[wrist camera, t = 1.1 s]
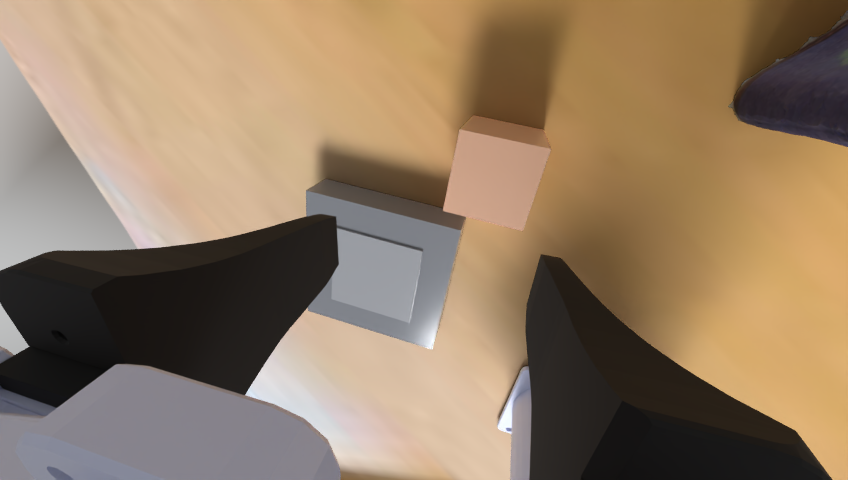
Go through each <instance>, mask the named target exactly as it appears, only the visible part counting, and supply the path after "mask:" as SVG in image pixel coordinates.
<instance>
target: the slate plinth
mask: <svg viewBox="0 0 848 480" xmlns="http://www.w3.org/2000/svg"><path fill="white" fill-rule="evenodd" d="M306 214H307V216H311V215H316V214H325V215H330V216H336V220H337V239H338V257H339V265H338V267H337V268H336V270H335V272H334V274H333V275H332V277H331V278H330V280H329V282H328V283H327V285H326V286H325V287H324V288H323V290H322V291H321V292H320V293H319V294H318V296H317V297H316V298H315V299H314V300H313V302H312V303H311V304H310V305H309V306H308V311H311V312H314V313H317V314H320V315H324V316H327V317H330V318H333V319H336V320H339V321H343V322H346V323H349V324H352V325H355V326H359V327H362V328H365V329H368V330H371V331H374V332H378V333H381V334H384V335H387V336H390V337H394V338H397V339H400V340H403V341H406V342H409V343H413V344H416V345H419V346H422V347H425V348H429V349H433V345H434V342H435V339H436V336H437V333H438V329H439V326H440V322H441V318H442V314H443V310H444V306H445V301H446V297H447V293H448V289H449V285H450V281H451V277H452V273H453V269H454V265H455V261H456V257H457V253H458V248H459V244H460V240H461V236H462V232H463V228H464V224H465V220H466V217H465V216H461V215H457V214H453V213H449V212H445V211H443V208H440V207H436V206H432V205H428V204H424V203H420V202H416V201H412V200H408V199H404V198H400V197H396V196H392V195H388V194H384V193H380V192H376V191H372V190H368V189H364V188H360V187H356V186H352V185H348V184H344V183H340V182H336V181H332V180H329V179H325V180H323V181H321V182H320V183H318V184H316V185H315V186H313V187H311V188H309V189H308V190H306Z"/></svg>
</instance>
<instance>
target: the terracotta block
mask: <svg viewBox="0 0 848 480" xmlns="http://www.w3.org/2000/svg"><path fill="white" fill-rule="evenodd" d="M550 151H551V147H550V144H549V142H548V139H547V136H546V134H545V131H544V130H542V129H538V128H533V127H528V126H523V125H518V124H514V123H509V122H504V121H499V120H495V119H490V118H485V117H480V116H475V115H473V116H472V117H471V118H470V119H469V120H468V121H467V122H466V123H465V124H464V125H463V126H462V127H461V128H460V130H459V135H458V139H457V144H456V149H455V154H454V159H453V164H452V169H451V173H450V178H449V183H448V188H447V193H446V198H445V203H444V207H443V211H445V212H449V213H453V214H457V215H461V216H465V217H468V218H472V219H476V220H480V221H484V222H488V223H492V224H496V225H500V226H504V227H508V228H512V229H516V230H520V231H523V229H524V226H525V223H526V221H527V218H528V215H529V212H530V209H531V206H532V203H533V200H534V197H535V195H536V192H537V189H538V186H539V183H540V180H541V177H542V174H543V171H544V169H545V166H546V163H547V160H548V157H549V154H550Z"/></svg>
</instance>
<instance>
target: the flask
mask: <svg viewBox="0 0 848 480" xmlns="http://www.w3.org/2000/svg"><path fill="white" fill-rule="evenodd" d="M831 29H832V30H830V31H828V32H827V33H825V34H823V35H821V36H820V37H809V39H808V41H807V42H806V43H804V45H803V46H802V47H801V48H800V49H799V50H798V51H797V52H795V53H794V54H792V55H791V56H788V57H785V58H782V59H780V60H779V59H776V62H775V63H773V64H772V65H770V66H768V67H767V68H765V69H762V70H761V71H760V72H758V73H757V74H755V75H754V76H752V77H750V78H748V79H747V80H745V81H744V82H743V83H742V85H741V86H740V88H739V89H738V91H737V95H735V97H734V101H733V102H732V103H731V104H730V105H729V106H728V107H731V108H733V110H734V112H735V115H736V116H737V118H738V120H739V121H742V122H745V123H747V124H749V125H754V126H757V127H761V128H764V129H770V130H775V131H781V132H785V133H789V134H794V135H801V136H807V137H811V138H815V139H820V140H824V141H827V142H831V143H835V144H839V145H843V146H846V147H848V10H847V11H846V13H845V14H844V15H843V17H841V20H839V21H838V22H836V24H835V25H834V26H833V27H832V28H831Z"/></svg>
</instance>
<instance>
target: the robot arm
mask: <svg viewBox="0 0 848 480" xmlns="http://www.w3.org/2000/svg"><path fill="white" fill-rule="evenodd" d="M338 265H339V257H338V239H337V220H336V216H330V215H325V214H316V215H311V216H307V217H303V218H299V219H296V220H292V221H289V222H285V223H282V224H278V225H275V226H272V227H268V228H264V229H260V230H257V231H253V232H249V233H245V234H241V235H237V236H233V237H228V238H223V239H218V240H213V241H207V242H201V243H194V244H186V245H178V246H170V247H161V248H148V249H135V250H112V251H111V250H110V251H52V252H47V253H44V254H41V255H39V256H36V257H33V258H31V259H28V260H26V261H24V262H21V263H18V264H16V265H14V266H11V267H8V268H6V269H4V270H1V271H0V303H1V304H2V306H3V308H4V310H5V311H6V313H7V314H8V315H9V317H10V319H11V320H12V321H13V323H14V324H15V326H16V328H17V329H18V331H19V332H20V333H21V335H22V336H23V338H24V339H25V341H26V342H27V344H28V345H29V346H30V347H28V348H26V349H25V350H23V351H21V352H19V353H18V354H16V355H13V354H12V353H11V352H9V351H8V350H7V349H5V348H2V347H0V480H341V477H340V468H339V465H338V462H337V459H336V457H335V455H334V453H333V450H332V448H331V446H330V444H329V442H328V440H327V439H326V438H325V437H324V436H323V435H322V434H321V433H320V432H319V431H317V430H316V429H315V428H314V427H313V426H312V425H311V424H310V423H309V422H308V421H306V420H305V419H304V418H302V417H300V416H298V415H296V414H293V413H291V412H289V411H287V410H285V409H283V408H281V407H279V406H277V405H274V404H271V403H268V402H265V401H261V400H258V399H255V398H252V397H248V396H245V394H246V393H247V391H248V389H249V387H250V386H251V384H252V383H253V381H254V380H255V378H256V376H257V375H258V373H259V372H260V370H261V368H262V367H263V365H264V364H265V362H266V361H267V359H268V358H269V356H270V355H271V353H272V352H273V350H274V349H275V347H276V346H277V344H278V343H279V342H280V340H281V339H282V337H283V336H284V335H285V334H286V332H287V331H288V330H289V328H290V327H291V326H292V325H293V324H294V323H295V321H296V320H297V319H298V318H299V317H300V316H301V314H302V313H303V312H304V311H305V310H306V309H307V307H308V306H309V305H310V304H311V303H312V302H313V300H314V299H315V298H316V297H317V296H318V294H319V293H320V292H321V291H322V290H323V288H324V287H325V286H326V285H327V283H328V282H329V280H330V278H331V277H332V275H333V274H334V272H335V270H336V268H337V267H338ZM526 342H527V354H528V365H529V367H528V366H526V367H523V368H522V369H521V371H520V373H519V376H518V378H517V380H516V382H515V385H514V387H513V389H512V391H511V394H510V396H509V398H508V400H507V403H506V405H505V407H504V409H503V411H502V414H501V416H500V418H499V420H498V425H497V427H498V428H499V429H500V430H501V431H504V432H507V433H510V434H511V468H510V480H832V479H831V477H830V476H829V475H828V473H827V472H826V471H825V469H824V468H823V467H822V465H821V464H820V463H819V461H818V460H817V459H816V457H815V456H814V455H813V453H812V452H811V451H810V449H809V448H808V447H807V445H806V444H805V443H804V441H803V440H802V439H801V437H800V436H799V435H798V433H797V432H796V431H795V430H793V429H791V428H789V427H787V426H785V425H783V424H782V423H780V422H778V421H776V420H774V419H772V418H770V417H768V416H766V415H765V414H763V413H761V412H759V411H757V410H755V409H753V408H751V407H749V406H747V405H746V404H744V403H742V402H740V401H738V400H736V399H734V398H732V397H731V396H729V395H727V394H725V393H724V392H722V391H720V390H719V389H717V388H715V387H714V386H712V385H710V384H709V383H707V382H705V381H704V380H702V379H700V378H699V377H697V376H695V375H694V374H692V373H691V372H689V371H688V370H686V369H684V368H683V367H681V366H680V365H678V364H677V363H675V362H674V361H672V360H671V359H670V358H668V357H667V356H665V355H664V354H662V353H661V352H660V351H658V350H657V349H655V348H654V347H652V346H651V345H650V344H648V343H647V342H646V341H644V340H643V339H642V338H641V337H639V336H638V335H637V334H636V333H635V332H633V331H632V330H631V329H630V328H628V327H627V326H626V325H625V324H624V323H622V322H621V321H620V320H619V319H618V318H617V317H616V316H615V315H613V314H612V313H611V312H610V311H609V310H608V309H607V308H606V307H605V306H604V305H603V304H602V303H601V302H600V301H599V300H598V299H597V298H596V297H595V296H594V295H593V294H592V293H591V292H590V291H589V289H588V288H587V287H586V286H585V285H584V284H583V283H582V282H581V280H580V279H579V278H578V277H577V276H576V275H575V274H574V272H573V271H572V270H571V269H570V268H569V267H568V265H567V264H566V263H565V262H564V261H563V260H562V259H561V258H558V257H552V256H547V255H541V256H540V260H539V263H538V267H537V270H536V274H535V277H534V281H533V284H532V288H531V292H530V295H529V299H528V302H527V311H526Z"/></svg>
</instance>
